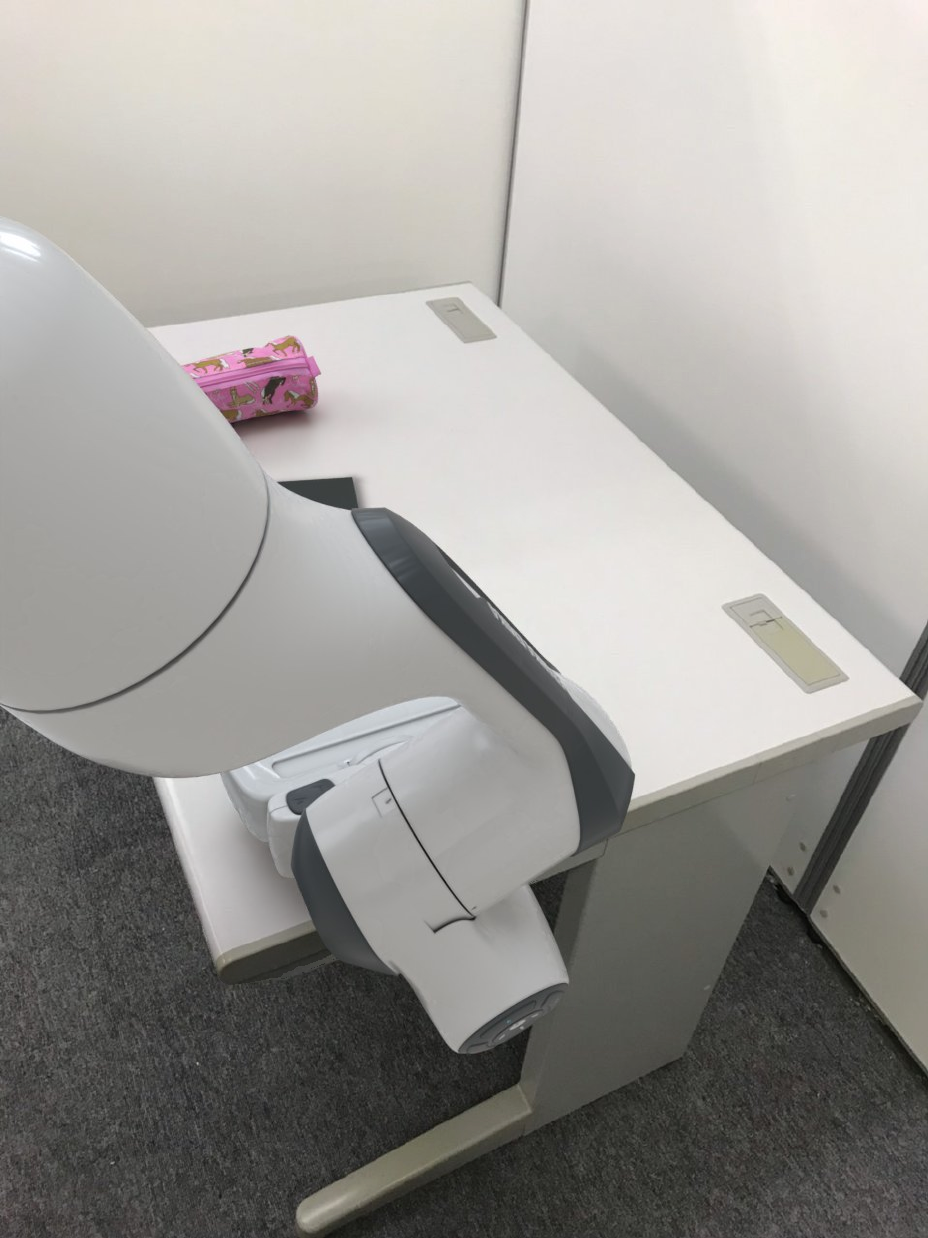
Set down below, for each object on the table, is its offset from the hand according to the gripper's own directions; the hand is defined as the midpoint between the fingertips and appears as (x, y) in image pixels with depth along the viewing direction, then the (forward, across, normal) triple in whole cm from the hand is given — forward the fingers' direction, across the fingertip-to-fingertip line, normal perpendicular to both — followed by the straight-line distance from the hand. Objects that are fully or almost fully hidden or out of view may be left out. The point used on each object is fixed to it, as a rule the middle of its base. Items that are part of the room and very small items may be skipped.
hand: (331, 665), depth 72 cm
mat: (+29, -4, +7) cm, 30 cm away
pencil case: (+47, -4, +7) cm, 47 cm away
